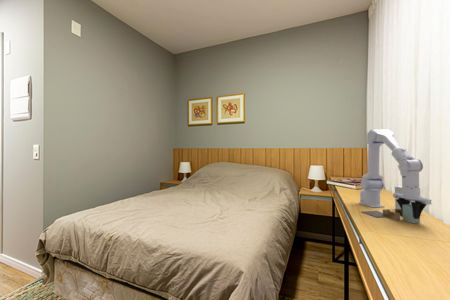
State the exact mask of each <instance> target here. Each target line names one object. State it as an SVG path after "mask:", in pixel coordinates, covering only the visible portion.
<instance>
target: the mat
mask: <svg viewBox="0 0 450 300" xmlns="http://www.w3.org/2000/svg"><path fill="white" fill-rule="evenodd" d="M360 212H361V213H362V214H364V215H367V216H370V217H373V218H377V219H378V218H379V219H380V218H388V217H387V216H384V215H383V211H378V210H367V211H366V210H365V211H364V210H363V211H360Z"/></svg>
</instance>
